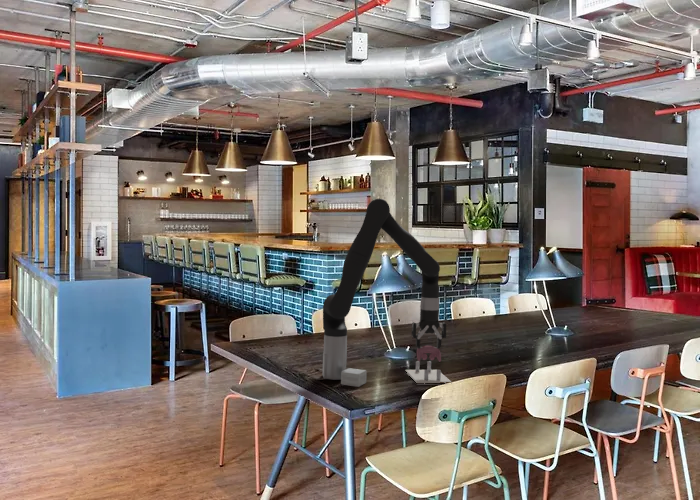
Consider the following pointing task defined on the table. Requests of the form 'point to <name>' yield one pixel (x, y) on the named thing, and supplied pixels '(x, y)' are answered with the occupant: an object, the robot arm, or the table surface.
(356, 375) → the small box
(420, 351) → the maroon arch piece
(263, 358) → the table surface
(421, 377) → the pin tray
